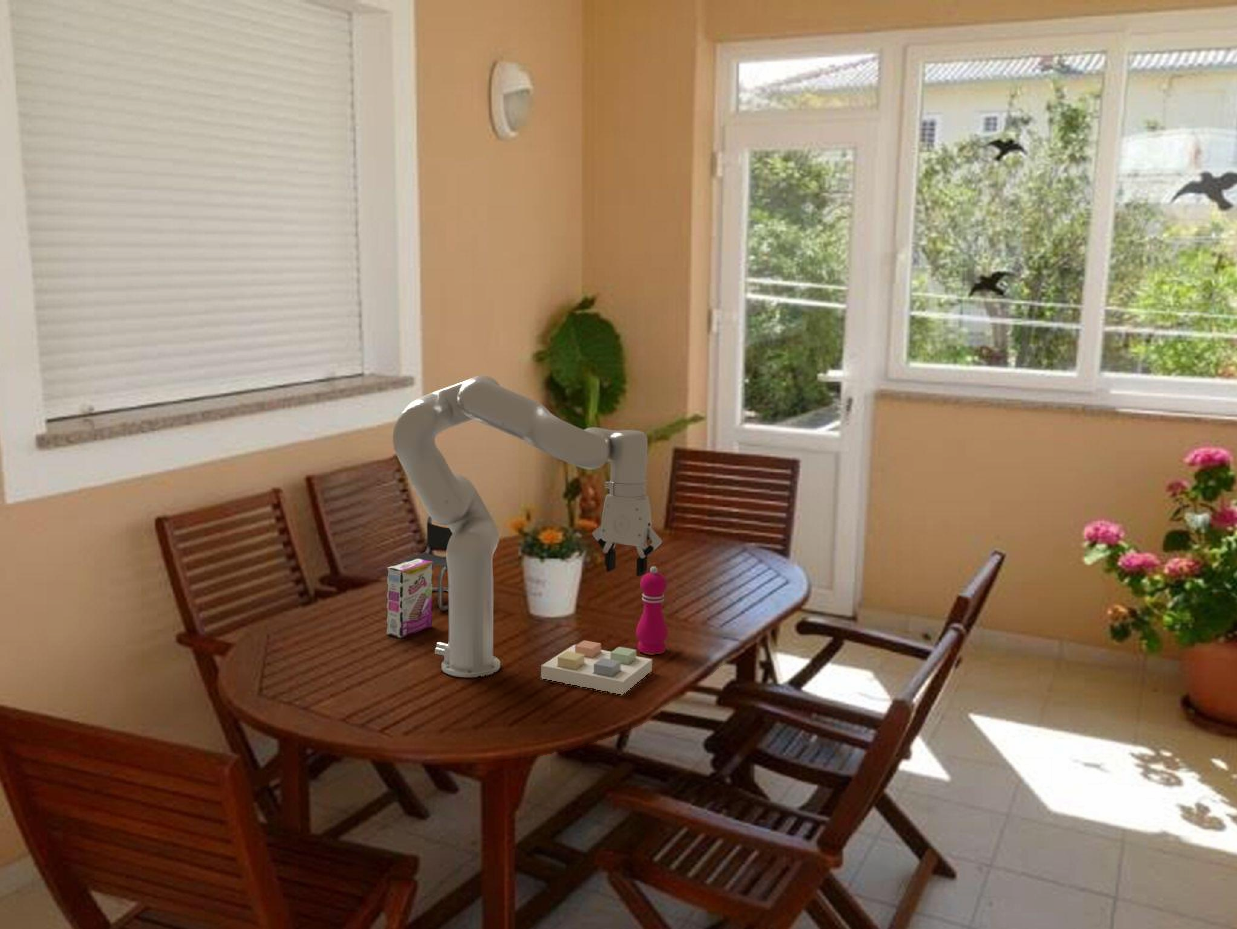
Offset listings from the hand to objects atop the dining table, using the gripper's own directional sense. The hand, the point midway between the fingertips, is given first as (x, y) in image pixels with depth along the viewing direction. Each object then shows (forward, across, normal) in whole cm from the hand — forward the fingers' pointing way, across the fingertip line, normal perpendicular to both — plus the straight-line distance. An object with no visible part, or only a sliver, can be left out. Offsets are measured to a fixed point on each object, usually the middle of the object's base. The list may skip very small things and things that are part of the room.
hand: (625, 571), depth 229 cm
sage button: (+20, 0, 0) cm, 20 cm away
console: (+23, -4, -4) cm, 23 cm away
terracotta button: (+20, -9, 0) cm, 22 cm away
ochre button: (+20, -9, -8) cm, 23 cm away
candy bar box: (+23, -56, +1) cm, 61 cm away
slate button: (+20, 0, -8) cm, 22 cm away
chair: (+23, -64, +24) cm, 72 cm away
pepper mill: (+23, 0, +16) cm, 28 cm away
